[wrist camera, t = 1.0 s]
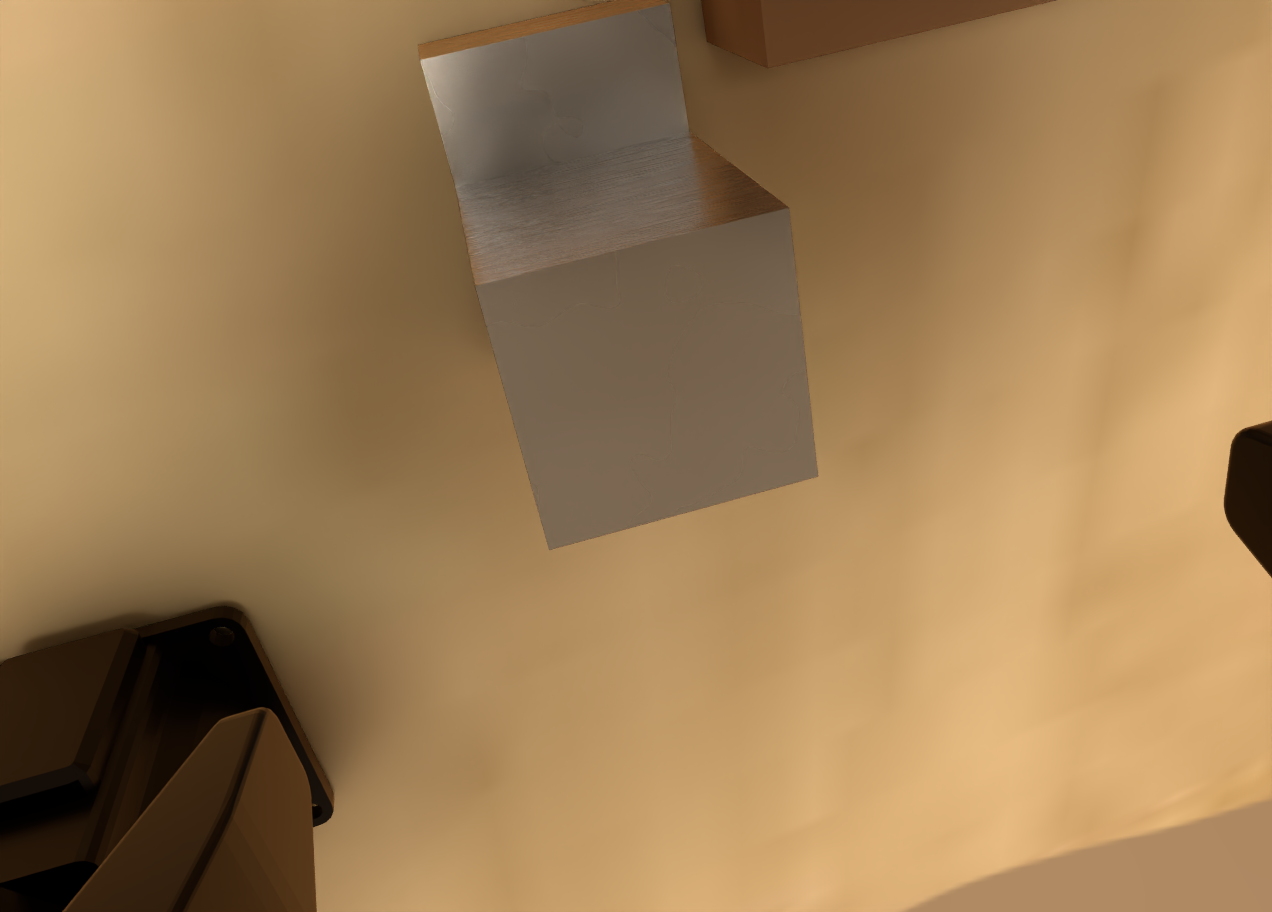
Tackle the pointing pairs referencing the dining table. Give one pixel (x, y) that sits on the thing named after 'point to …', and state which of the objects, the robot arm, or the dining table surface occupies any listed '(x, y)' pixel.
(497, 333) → the bracket
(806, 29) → the well block
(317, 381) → the dining table surface
